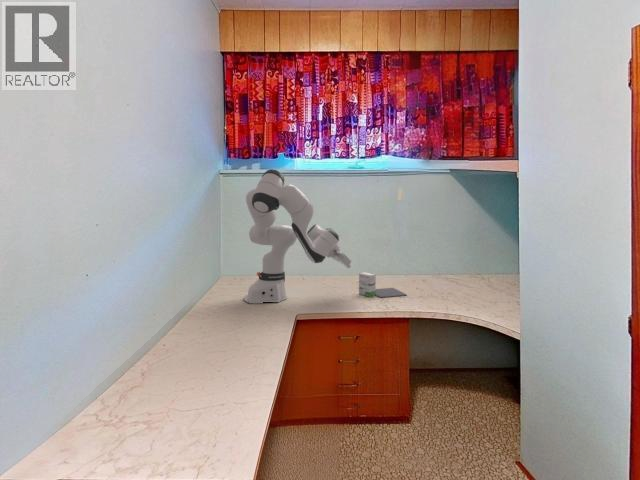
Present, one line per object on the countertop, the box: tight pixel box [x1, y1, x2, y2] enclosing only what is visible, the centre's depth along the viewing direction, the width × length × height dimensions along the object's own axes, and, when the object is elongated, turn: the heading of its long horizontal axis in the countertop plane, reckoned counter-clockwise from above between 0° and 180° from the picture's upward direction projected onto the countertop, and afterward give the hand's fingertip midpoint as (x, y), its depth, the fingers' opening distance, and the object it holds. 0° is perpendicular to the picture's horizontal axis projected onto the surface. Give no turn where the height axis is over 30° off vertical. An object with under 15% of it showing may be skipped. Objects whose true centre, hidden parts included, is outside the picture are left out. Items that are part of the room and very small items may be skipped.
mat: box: [375, 287, 408, 299], centre depth 243 cm, size 16×16×1 cm
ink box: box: [358, 272, 377, 298], centre depth 238 cm, size 9×5×12 cm, turn 39°
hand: (348, 266), depth 233 cm, fingers closed
